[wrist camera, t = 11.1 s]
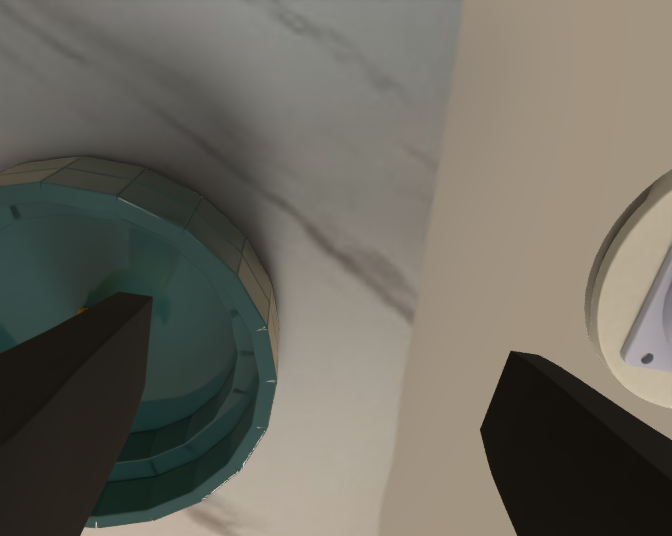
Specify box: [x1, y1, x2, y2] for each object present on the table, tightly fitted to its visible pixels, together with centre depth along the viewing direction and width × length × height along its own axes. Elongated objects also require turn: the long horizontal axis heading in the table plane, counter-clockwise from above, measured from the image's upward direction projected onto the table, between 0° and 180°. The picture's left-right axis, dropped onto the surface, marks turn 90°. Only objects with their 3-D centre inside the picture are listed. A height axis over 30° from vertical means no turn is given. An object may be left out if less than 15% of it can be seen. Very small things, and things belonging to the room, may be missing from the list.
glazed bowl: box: [0, 156, 280, 528], centre depth 20 cm, size 13×13×4 cm
